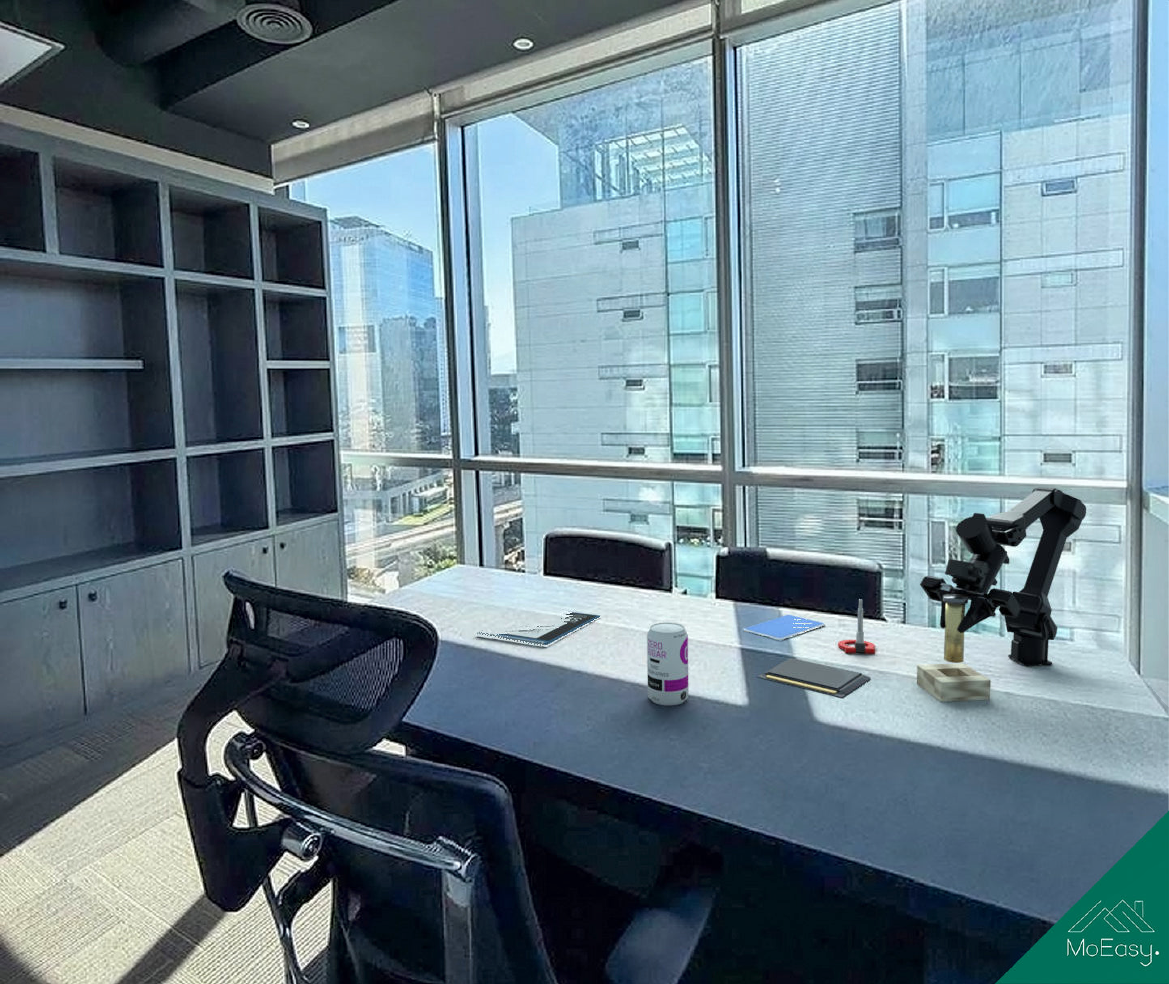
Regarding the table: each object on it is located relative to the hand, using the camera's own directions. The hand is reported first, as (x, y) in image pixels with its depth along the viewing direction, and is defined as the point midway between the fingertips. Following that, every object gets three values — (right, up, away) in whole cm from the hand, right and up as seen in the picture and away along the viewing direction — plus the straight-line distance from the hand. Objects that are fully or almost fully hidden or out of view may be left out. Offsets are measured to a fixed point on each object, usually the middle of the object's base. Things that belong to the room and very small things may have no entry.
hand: (950, 629), depth 158 cm
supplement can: (-57, -15, +2) cm, 59 cm away
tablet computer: (-21, -9, +48) cm, 53 cm away
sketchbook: (-86, -10, +54) cm, 102 cm away
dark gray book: (-24, -13, +12) cm, 30 cm away
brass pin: (+1, -6, +1) cm, 7 cm away
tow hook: (-8, -10, +31) cm, 33 cm away
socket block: (+1, -13, +2) cm, 13 cm away
